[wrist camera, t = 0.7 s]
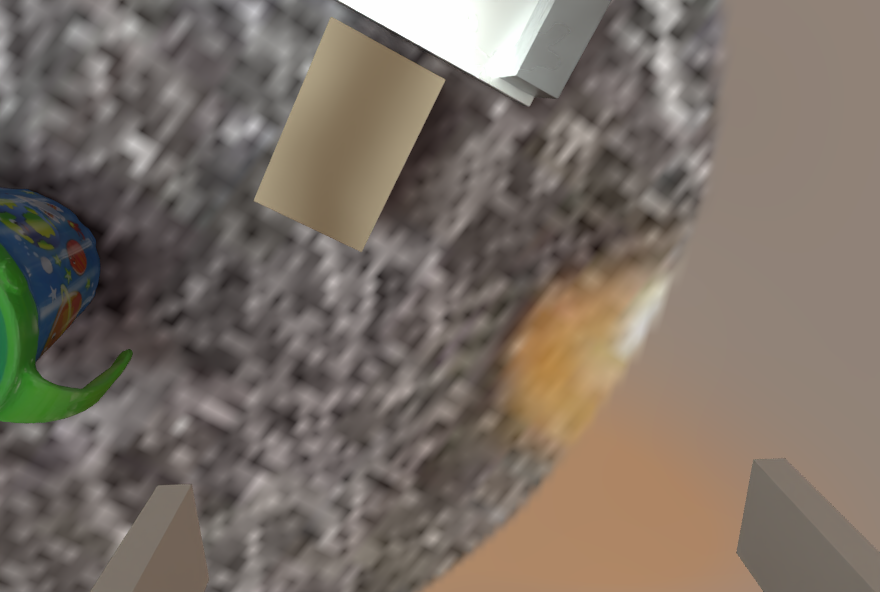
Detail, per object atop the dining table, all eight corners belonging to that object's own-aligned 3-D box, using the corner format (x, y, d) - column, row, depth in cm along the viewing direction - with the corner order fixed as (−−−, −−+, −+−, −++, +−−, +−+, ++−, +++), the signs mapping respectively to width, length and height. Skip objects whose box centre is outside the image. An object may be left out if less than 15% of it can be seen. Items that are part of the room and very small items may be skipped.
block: (286, 177, 32) (253, 200, 25) (348, 32, 30) (331, 16, 23) (371, 219, 33) (361, 252, 26) (438, 81, 31) (445, 79, 24)
